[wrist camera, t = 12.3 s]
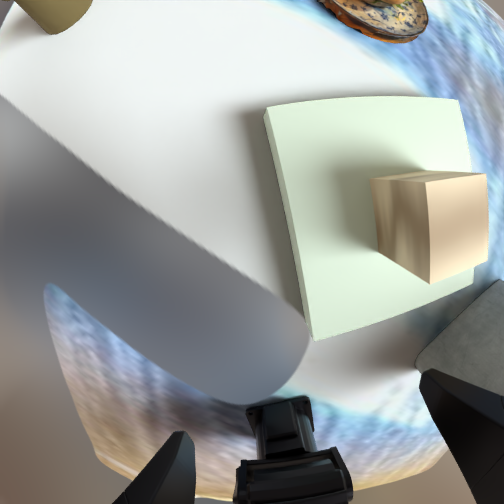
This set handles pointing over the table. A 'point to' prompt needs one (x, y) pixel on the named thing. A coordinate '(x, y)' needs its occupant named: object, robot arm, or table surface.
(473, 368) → the hip flask
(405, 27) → the burger
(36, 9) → the cork
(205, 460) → the table surface
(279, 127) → the plinth
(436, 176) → the birch block
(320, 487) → the robot arm
